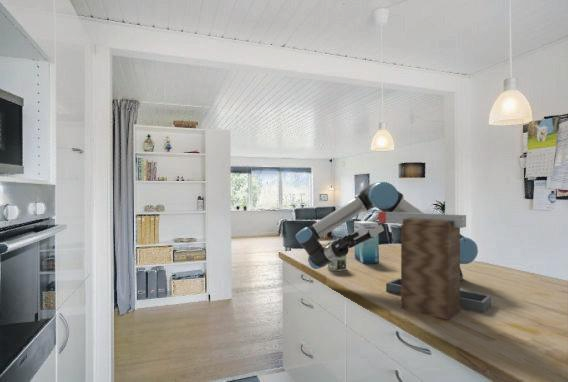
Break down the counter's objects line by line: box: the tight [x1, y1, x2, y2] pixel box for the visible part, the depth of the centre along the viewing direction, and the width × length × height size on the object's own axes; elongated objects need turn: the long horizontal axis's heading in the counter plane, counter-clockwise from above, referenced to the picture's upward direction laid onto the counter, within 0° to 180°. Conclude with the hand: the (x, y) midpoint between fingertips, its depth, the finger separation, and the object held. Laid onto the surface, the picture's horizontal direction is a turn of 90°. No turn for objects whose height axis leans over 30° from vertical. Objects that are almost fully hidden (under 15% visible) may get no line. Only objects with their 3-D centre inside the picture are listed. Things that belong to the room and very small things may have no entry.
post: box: [400, 219, 461, 321], centre depth 117 cm, size 16×12×32 cm
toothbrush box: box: [353, 220, 380, 264], centre depth 203 cm, size 18×10×24 cm, turn 4°
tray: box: [385, 278, 492, 314], centre depth 130 cm, size 36×11×4 cm, turn 46°
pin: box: [378, 211, 467, 229], centre depth 120 cm, size 30×4×4 cm, turn 46°
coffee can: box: [327, 241, 347, 272], centre depth 180 cm, size 10×10×14 cm
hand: (374, 228), depth 132 cm, fingers open, 13 cm apart
